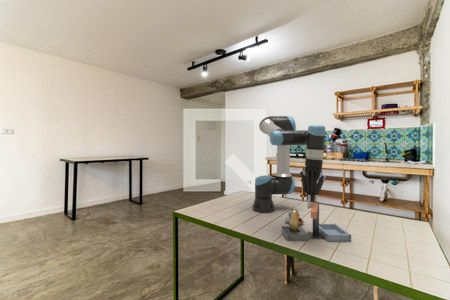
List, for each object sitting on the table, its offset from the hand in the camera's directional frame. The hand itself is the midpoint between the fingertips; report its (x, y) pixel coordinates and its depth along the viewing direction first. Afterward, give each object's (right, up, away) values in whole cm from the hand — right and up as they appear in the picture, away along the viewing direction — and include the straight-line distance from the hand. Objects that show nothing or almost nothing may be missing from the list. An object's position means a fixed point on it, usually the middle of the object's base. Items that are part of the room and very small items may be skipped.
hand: (309, 208), depth 101 cm
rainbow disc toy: (0, -15, +22) cm, 27 cm away
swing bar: (+2, -1, -2) cm, 3 cm away
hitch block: (-6, -15, +5) cm, 17 cm away
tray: (+13, -15, +6) cm, 21 cm away
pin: (-6, -15, +5) cm, 17 cm away
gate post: (+5, -15, +5) cm, 17 cm away
